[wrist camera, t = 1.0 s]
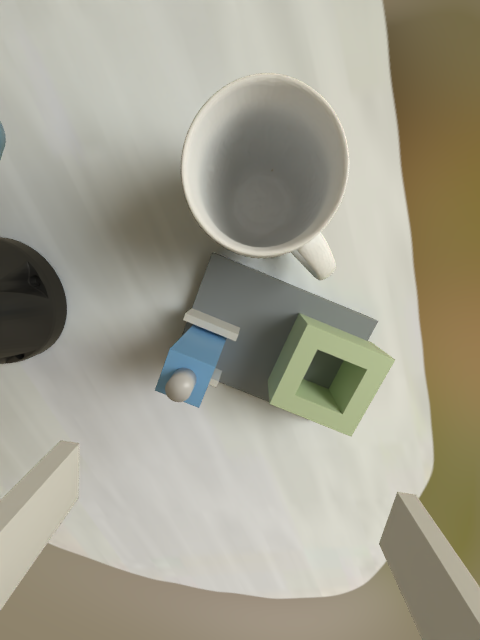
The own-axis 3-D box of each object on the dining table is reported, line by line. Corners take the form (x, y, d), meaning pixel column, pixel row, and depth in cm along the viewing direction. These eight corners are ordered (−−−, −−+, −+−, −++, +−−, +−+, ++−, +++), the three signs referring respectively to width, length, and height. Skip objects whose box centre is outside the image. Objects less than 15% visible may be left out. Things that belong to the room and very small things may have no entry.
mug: (353, 239, 31) (422, 225, 18) (276, 303, 33) (289, 331, 20) (266, 128, 29) (274, 23, 16) (190, 203, 31) (144, 163, 18)
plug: (185, 351, 33) (145, 402, 21) (196, 321, 32) (161, 357, 20) (215, 363, 33) (193, 421, 21) (228, 334, 32) (211, 377, 20)
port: (267, 380, 33) (269, 403, 28) (298, 312, 31) (307, 323, 26) (336, 408, 33) (351, 436, 28) (371, 342, 31) (395, 359, 26)
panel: (175, 358, 35) (163, 372, 30) (214, 253, 32) (207, 252, 27) (320, 416, 35) (329, 438, 31) (372, 318, 32) (390, 327, 28)
